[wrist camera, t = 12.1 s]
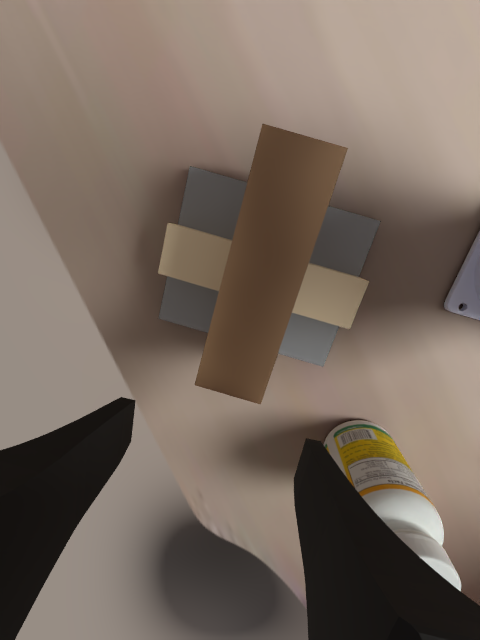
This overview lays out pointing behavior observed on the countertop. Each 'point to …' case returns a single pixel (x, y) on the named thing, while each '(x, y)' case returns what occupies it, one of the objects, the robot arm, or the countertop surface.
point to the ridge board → (222, 219)
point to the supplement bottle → (391, 490)
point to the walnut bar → (268, 259)
